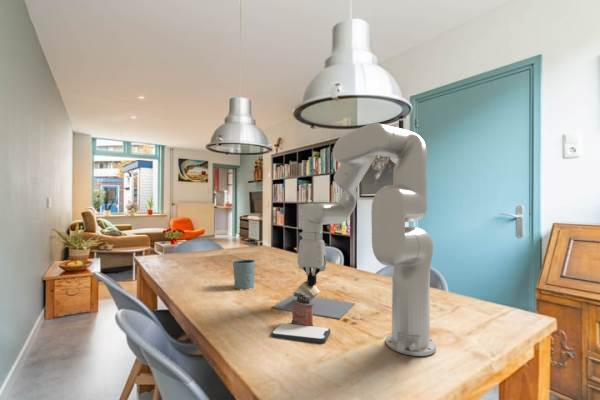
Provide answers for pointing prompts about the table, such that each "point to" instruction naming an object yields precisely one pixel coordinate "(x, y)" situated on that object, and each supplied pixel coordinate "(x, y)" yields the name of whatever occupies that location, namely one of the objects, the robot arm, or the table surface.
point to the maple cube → (307, 290)
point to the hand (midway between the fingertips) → (311, 285)
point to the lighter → (302, 310)
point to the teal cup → (244, 273)
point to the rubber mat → (320, 307)
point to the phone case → (301, 333)
